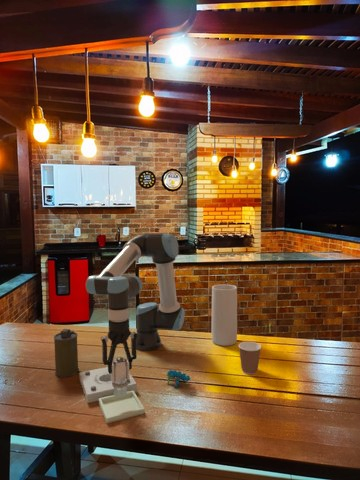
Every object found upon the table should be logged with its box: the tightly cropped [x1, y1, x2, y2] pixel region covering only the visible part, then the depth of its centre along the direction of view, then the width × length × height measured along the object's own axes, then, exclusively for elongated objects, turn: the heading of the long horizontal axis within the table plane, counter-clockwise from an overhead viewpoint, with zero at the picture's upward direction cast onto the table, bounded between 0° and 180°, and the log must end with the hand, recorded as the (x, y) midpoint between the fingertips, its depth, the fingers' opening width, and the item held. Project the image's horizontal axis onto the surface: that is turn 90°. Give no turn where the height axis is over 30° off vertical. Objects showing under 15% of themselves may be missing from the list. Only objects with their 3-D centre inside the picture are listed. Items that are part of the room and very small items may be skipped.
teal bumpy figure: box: [166, 369, 191, 389], centre depth 146 cm, size 11×6×10 cm
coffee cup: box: [238, 341, 262, 375], centre depth 158 cm, size 10×10×12 cm
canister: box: [53, 328, 80, 378], centre depth 158 cm, size 11×10×20 cm
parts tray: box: [98, 391, 145, 425], centre depth 129 cm, size 14×14×2 cm
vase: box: [210, 283, 238, 347], centre depth 192 cm, size 14×14×32 cm
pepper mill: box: [112, 356, 128, 397], centre depth 128 cm, size 6×6×14 cm
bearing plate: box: [79, 366, 138, 404], centre depth 146 cm, size 20×20×4 cm
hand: (120, 379), depth 128 cm, fingers closed on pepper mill, 5 cm apart
